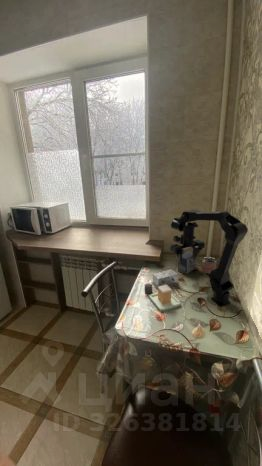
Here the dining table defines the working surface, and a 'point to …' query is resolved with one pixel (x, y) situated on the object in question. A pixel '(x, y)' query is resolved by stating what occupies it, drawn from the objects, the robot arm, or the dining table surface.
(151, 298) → the tray
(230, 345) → the dining table surface
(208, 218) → the robot arm
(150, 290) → the dark rounded cylinder
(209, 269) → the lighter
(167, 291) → the square block
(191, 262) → the small box
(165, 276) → the box
